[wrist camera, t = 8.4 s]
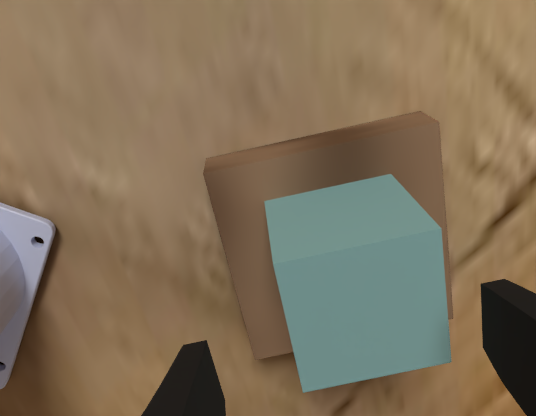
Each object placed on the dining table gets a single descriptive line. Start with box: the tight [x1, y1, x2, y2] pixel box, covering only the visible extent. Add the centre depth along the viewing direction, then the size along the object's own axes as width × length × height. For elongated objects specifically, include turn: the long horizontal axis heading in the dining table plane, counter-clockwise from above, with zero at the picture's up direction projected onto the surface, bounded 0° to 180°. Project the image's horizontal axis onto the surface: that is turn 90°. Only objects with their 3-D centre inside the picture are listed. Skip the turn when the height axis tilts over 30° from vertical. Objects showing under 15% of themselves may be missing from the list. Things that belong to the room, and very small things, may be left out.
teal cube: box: [264, 174, 451, 393], centre depth 17 cm, size 5×5×5 cm
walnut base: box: [203, 111, 453, 360], centre depth 21 cm, size 9×9×2 cm
